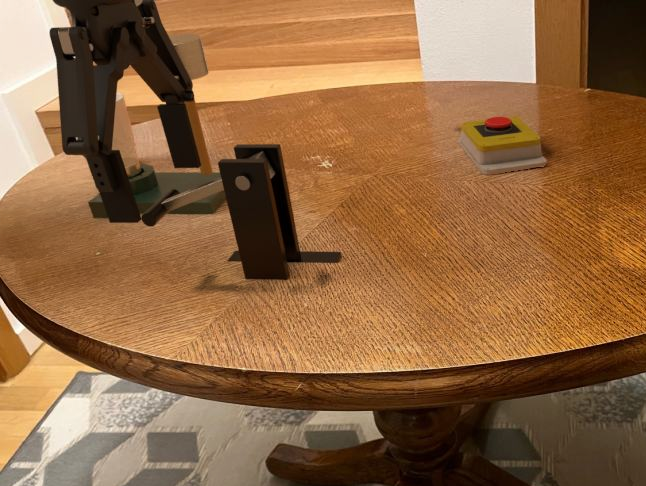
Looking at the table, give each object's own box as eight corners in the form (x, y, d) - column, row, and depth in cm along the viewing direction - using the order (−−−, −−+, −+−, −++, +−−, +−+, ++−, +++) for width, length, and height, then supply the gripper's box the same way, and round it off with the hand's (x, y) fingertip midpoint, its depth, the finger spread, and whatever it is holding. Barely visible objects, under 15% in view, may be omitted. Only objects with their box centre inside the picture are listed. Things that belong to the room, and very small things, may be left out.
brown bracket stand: (205, 301, 74) (168, 170, 66) (237, 259, 81) (207, 137, 73) (320, 304, 72) (297, 170, 65) (342, 261, 80) (324, 136, 72)
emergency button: (515, 104, 110) (549, 135, 98) (515, 133, 112) (549, 166, 100) (455, 111, 108) (483, 143, 96) (456, 140, 110) (483, 175, 98)
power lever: (149, 232, 72) (135, 211, 70) (176, 207, 76) (162, 187, 75) (261, 190, 68) (248, 166, 66) (281, 166, 73) (269, 144, 71)
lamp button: (103, 182, 93) (99, 168, 92) (119, 170, 96) (115, 157, 95) (133, 182, 92) (129, 168, 91) (148, 170, 95) (144, 157, 94)
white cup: (85, 166, 108) (61, 97, 103) (140, 155, 111) (120, 88, 106) (89, 183, 103) (64, 111, 97) (147, 171, 105) (126, 101, 100)
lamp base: (90, 218, 92) (79, 188, 90) (128, 187, 101) (119, 159, 98) (214, 219, 90) (206, 188, 88) (242, 187, 99) (236, 159, 96)
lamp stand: (174, 182, 90) (136, 46, 81) (194, 164, 95) (160, 34, 86) (220, 182, 90) (187, 44, 81) (238, 164, 95) (208, 33, 86)
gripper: (40, -32, 50) (134, 249, 62) (191, -69, 70) (240, 148, 82) (-60, -27, 51) (52, 249, 62) (118, -65, 71) (177, 148, 83)
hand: (159, 192), depth 72 cm, fingers open, 13 cm apart
